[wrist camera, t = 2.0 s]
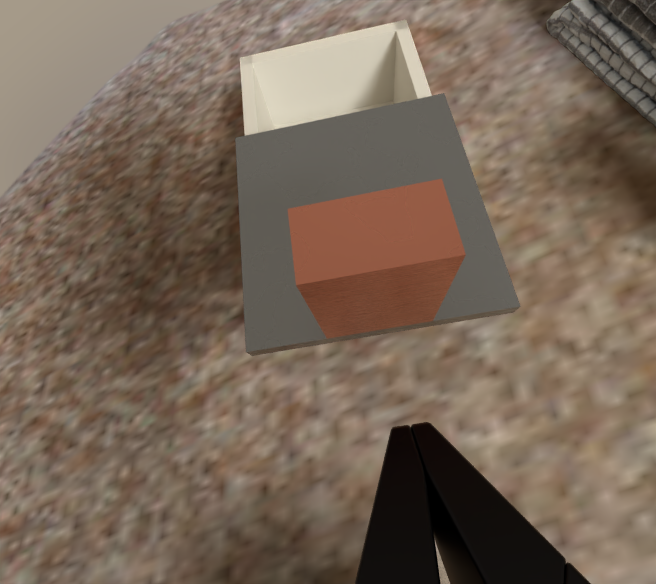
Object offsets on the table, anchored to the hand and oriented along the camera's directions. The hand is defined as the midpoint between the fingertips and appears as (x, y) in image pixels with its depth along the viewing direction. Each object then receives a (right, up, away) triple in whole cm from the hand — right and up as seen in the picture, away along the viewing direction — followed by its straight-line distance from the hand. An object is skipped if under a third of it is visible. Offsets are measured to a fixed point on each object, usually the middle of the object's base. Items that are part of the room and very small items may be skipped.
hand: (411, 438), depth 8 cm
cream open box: (-1, +12, +19) cm, 22 cm away
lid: (0, +7, +10) cm, 12 cm away
